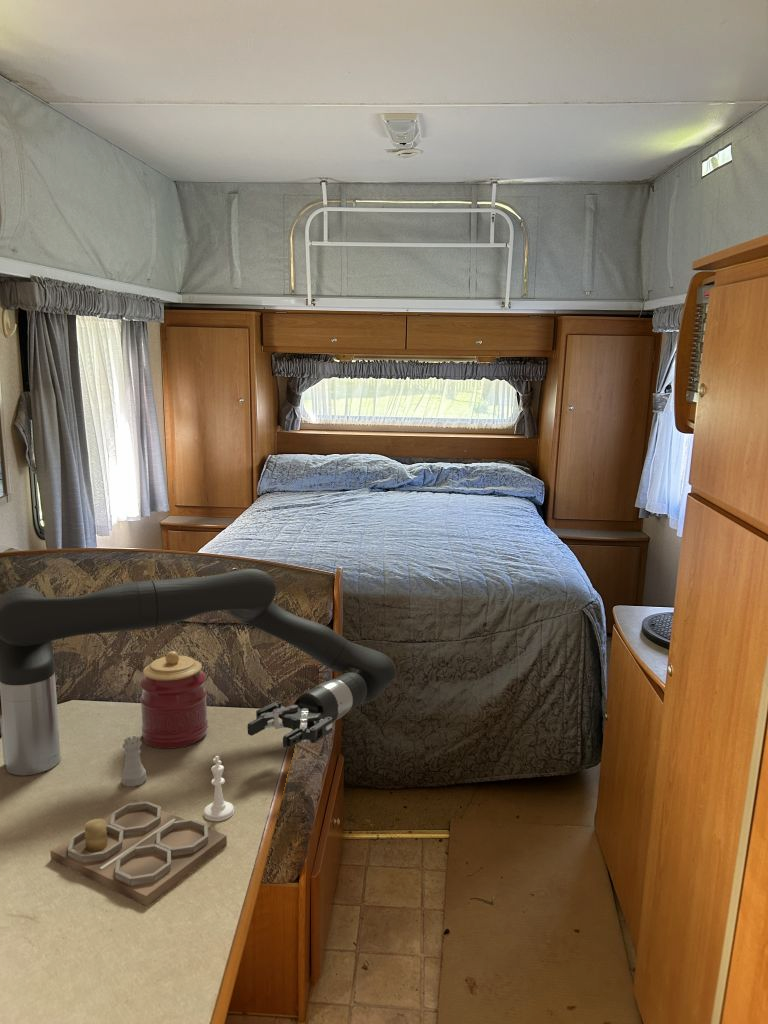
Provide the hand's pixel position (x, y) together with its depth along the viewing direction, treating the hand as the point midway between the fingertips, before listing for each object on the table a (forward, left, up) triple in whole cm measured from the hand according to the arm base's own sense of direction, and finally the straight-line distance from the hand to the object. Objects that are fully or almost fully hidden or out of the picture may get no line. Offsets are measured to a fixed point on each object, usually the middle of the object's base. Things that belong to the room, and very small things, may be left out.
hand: (266, 736), depth 131 cm
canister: (-28, +6, -9) cm, 30 cm away
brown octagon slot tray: (-4, -25, -9) cm, 27 cm away
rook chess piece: (-21, -11, -9) cm, 26 cm away
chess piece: (-1, -11, -9) cm, 15 cm away
